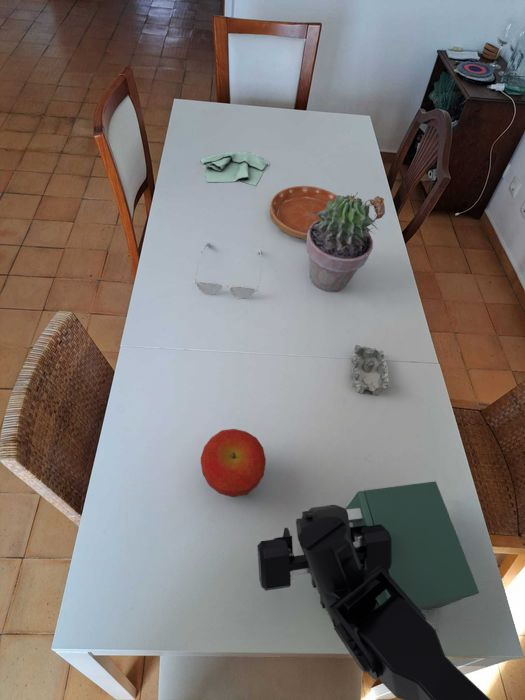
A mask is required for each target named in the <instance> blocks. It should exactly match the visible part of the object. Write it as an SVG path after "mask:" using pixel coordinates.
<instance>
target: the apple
mask: <svg viewBox="0 0 525 700" xmlns="http://www.w3.org/2000/svg"><path fill="white" fill-rule="evenodd" d="M266 460H267V459H266V455H265V450H264V447H263V446H262V444H261V442H260V441H259V440H258V437H256V436H254V435H252V434H251V433H249V432H247V431H246V430H241V429H238V428H230V429H222V430H220V431H218V432H217V433H216V434H214V435H213V436H211V437H210V439H209V440H208V441H207V442H206V444H205V445H204V446H203V449H202V452H201V455H200V466H201V471H202V476H203V477H204V480H205V481H206V483H207V485H208V486H209V487H210V488H211V489H213V490H214V491H215V492H216V493H218V494H219V495H224V496H227V497H231V498H237V497H241V496H246V495H248V494H249V493H251V492H252V491H253V490H255V489H256V488H257V487H258V485H259V484H260V482H261V481H262V479H263V478H264V476H265V470H266Z"/></svg>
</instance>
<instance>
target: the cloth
mask: <svg viewBox="0 0 525 700" xmlns="http://www.w3.org/2000/svg"><path fill="white" fill-rule="evenodd" d="M199 161H200V162H201V164H202V165H203V164H204V165H206V166H207V167H206V168H205V177H206V183H235V182H236V181H238V182H241V183H245V184H247V185H250V186H255V187H256V186H257V185H258V183H259V182H260V179H261V178H262V175H263V173H264V171H265V167H266V166H267V165H268V164H269V161H267V160H266V159H265V158H264V157H263V158H262V157H261V156H259V155H257V154H256V153H252V152H247V151H240V152H239V151H238V152H237V151H236V152H234V151H229V152H223V153H217V154H214V155H209V156H206V157H205V158H202V159H200V160H199Z"/></svg>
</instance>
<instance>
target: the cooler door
mask: <svg viewBox="0 0 525 700" xmlns="http://www.w3.org/2000/svg"><path fill="white" fill-rule="evenodd" d="M364 491H365V490H361V491H359V490H358V491H357V493H356V494H355V495H354V496H353V497H352V499H351V501H350V502H349V503H348V505H346V507H344V508H345V509H346V510H347V513H348V519H349V526H350V527H356V526H363V525H367V526H372V525H373V521H372V518H371V514H370V511H369V507H368V503H367V500H366V496H365V493H364ZM363 565H364V564H363ZM363 565H362V566H363ZM389 597H391V596H390V594H389V593H388V591H387V590H385V591H384V592H382V593H381V594H380V595H379V596H378V597H377V598H376V600H377V602H378V604H379V606H380V605H381V604H382V603H383V602H385V601H386V600H387V599H388V598H389Z"/></svg>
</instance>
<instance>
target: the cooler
mask: <svg viewBox="0 0 525 700" xmlns="http://www.w3.org/2000/svg"><path fill="white" fill-rule="evenodd" d="M363 491H364V493H365V496H366V500H367V503H368V507H369V511H370V514H371V518H372V521H373V525H379V524H381V525H382V526H384V527H385V528H386V530H387V531H388V532H389V533H390V536H391V549H392V563H391V567H390V569H388V570H386V572H387V573H388V574H389V575H390V576H391V577H392V579H393V580H394V581H395V582H396V583H397V584H398V585H399V587H400V588H401V589H402V590H403V591H404V592H405V594H406V595H407V596H408V597H409V598H410V599H411V600H412V602H413V603H414V604H415V605H416V606H417V607H418V609H419V610H420V611H421V612H422V611H427V610H432V609H438V608H442V607H445V606H447V605H451V604H453V603H456V602H459V601H462V600H464V599H466V598H470V597H472V596H475V595H478V594H480V590H479V588H478V586H477V583H476V580H475V577H474V575H473V572H472V570H471V567H470V565H469V563H468V560H467V558H466V555H465V553H464V550H463V547H462V544H461V541H460V540H459V539H460V538H459V536H458V534H457V531H456V530H455V526H454V524H453V522H452V518H451V517H450V514H449V511H448V509H447V506H446V504H445V501H444V498H443V496H442V493H441V491H440V488H439V486H438V483H437V481H436V480H435V481H428V482H421V483H414V484H413V483H411V484H404V485H396V486H387V487H380V488H373V489H365V490H363Z"/></svg>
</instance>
